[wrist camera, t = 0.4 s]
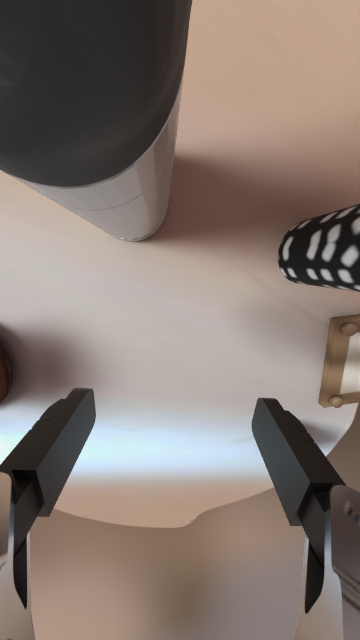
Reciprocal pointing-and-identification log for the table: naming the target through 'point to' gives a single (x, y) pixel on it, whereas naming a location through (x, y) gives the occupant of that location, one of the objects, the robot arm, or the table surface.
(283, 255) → the spotted tube
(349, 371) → the base plate
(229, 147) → the table surface
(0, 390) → the scroll
